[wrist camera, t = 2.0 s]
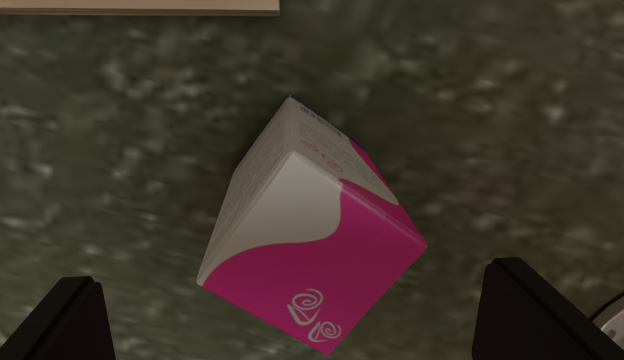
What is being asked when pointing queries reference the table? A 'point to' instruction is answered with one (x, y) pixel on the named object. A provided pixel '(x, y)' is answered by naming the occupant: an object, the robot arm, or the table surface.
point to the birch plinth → (143, 7)
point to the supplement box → (308, 231)
